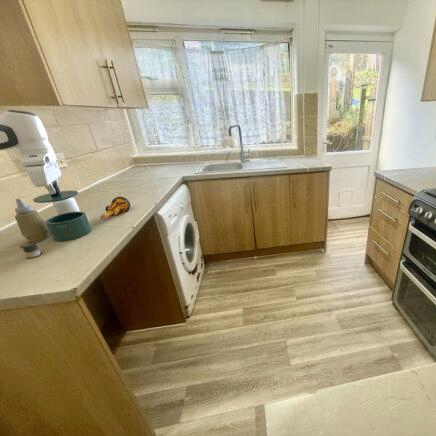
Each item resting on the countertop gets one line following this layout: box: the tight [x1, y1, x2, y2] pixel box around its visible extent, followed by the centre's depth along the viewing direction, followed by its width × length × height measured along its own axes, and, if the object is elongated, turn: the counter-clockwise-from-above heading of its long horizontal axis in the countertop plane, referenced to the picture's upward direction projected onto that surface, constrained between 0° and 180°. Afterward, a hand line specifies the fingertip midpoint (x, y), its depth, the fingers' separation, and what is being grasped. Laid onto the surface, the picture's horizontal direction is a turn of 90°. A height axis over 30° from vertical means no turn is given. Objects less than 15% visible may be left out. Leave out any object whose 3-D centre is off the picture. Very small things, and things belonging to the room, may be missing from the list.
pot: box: [45, 211, 92, 243], centre depth 104 cm, size 13×18×8 cm
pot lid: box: [32, 184, 79, 204], centre depth 97 cm, size 14×14×6 cm
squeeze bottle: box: [14, 198, 50, 243], centre depth 99 cm, size 8×8×18 cm
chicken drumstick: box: [100, 196, 131, 220], centre depth 123 cm, size 9×11×18 cm
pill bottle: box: [52, 197, 81, 215], centre depth 114 cm, size 8×8×15 cm
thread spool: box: [19, 241, 43, 260], centre depth 89 cm, size 4×4×5 cm
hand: (54, 192), depth 97 cm, fingers closed on pot lid, 3 cm apart
